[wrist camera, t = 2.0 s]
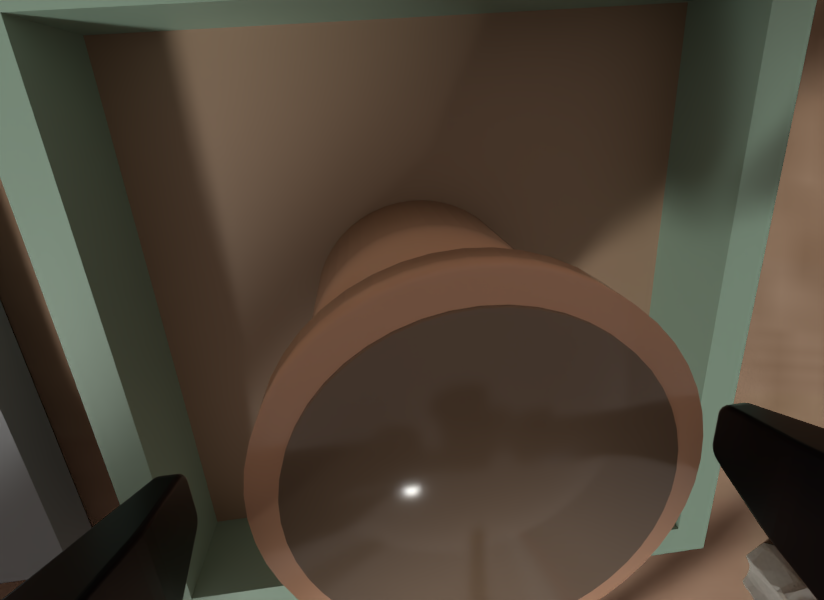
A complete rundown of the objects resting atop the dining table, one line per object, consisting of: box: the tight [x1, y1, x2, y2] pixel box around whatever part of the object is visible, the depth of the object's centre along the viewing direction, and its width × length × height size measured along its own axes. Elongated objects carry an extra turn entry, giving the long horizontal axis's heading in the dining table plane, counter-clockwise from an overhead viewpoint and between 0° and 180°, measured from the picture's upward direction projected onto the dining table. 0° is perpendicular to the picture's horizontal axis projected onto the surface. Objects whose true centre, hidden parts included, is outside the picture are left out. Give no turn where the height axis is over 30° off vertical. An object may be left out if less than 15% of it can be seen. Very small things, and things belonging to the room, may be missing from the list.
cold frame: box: [0, 0, 817, 600], centre depth 14 cm, size 17×17×4 cm
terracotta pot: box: [244, 200, 703, 600], centre depth 11 cm, size 7×7×8 cm
